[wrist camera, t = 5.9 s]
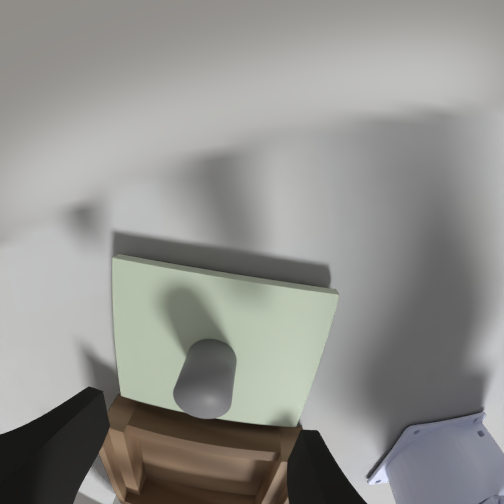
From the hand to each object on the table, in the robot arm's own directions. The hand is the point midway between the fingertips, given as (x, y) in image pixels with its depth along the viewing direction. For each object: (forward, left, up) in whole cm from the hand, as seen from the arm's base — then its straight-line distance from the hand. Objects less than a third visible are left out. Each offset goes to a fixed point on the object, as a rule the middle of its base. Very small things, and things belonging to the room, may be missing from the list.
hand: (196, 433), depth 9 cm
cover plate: (0, 0, -6) cm, 6 cm away
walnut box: (0, +10, -6) cm, 12 cm away
